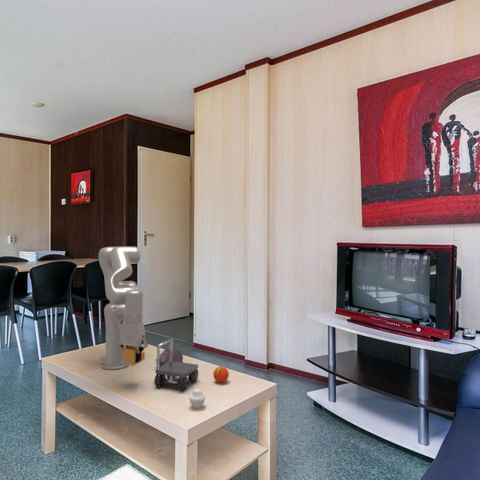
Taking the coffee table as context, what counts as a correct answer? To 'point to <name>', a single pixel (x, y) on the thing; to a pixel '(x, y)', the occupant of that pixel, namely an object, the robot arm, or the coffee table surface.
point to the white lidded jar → (197, 398)
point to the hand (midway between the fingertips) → (132, 360)
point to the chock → (132, 356)
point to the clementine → (221, 374)
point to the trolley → (174, 370)
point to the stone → (166, 356)
